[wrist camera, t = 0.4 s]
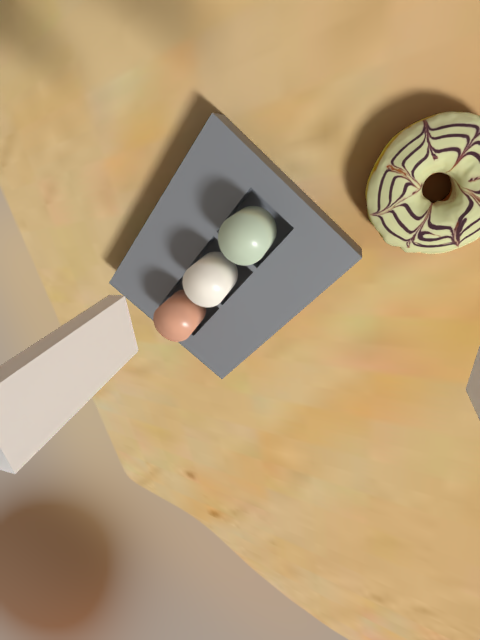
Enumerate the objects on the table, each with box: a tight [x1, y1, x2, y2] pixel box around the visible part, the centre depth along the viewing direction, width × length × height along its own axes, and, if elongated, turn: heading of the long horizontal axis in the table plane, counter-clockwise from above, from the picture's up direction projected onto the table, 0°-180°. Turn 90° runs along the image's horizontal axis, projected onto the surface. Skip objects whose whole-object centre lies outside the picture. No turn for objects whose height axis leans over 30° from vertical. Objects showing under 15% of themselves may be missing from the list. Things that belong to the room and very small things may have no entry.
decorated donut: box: [365, 111, 480, 254], centre depth 27 cm, size 10×11×4 cm
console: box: [109, 112, 362, 379], centre depth 36 cm, size 18×22×3 cm
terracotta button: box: [153, 289, 206, 342], centre depth 36 cm, size 4×4×4 cm
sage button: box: [218, 206, 277, 266], centre depth 30 cm, size 4×4×4 cm
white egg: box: [182, 252, 238, 307], centre depth 33 cm, size 4×4×4 cm
